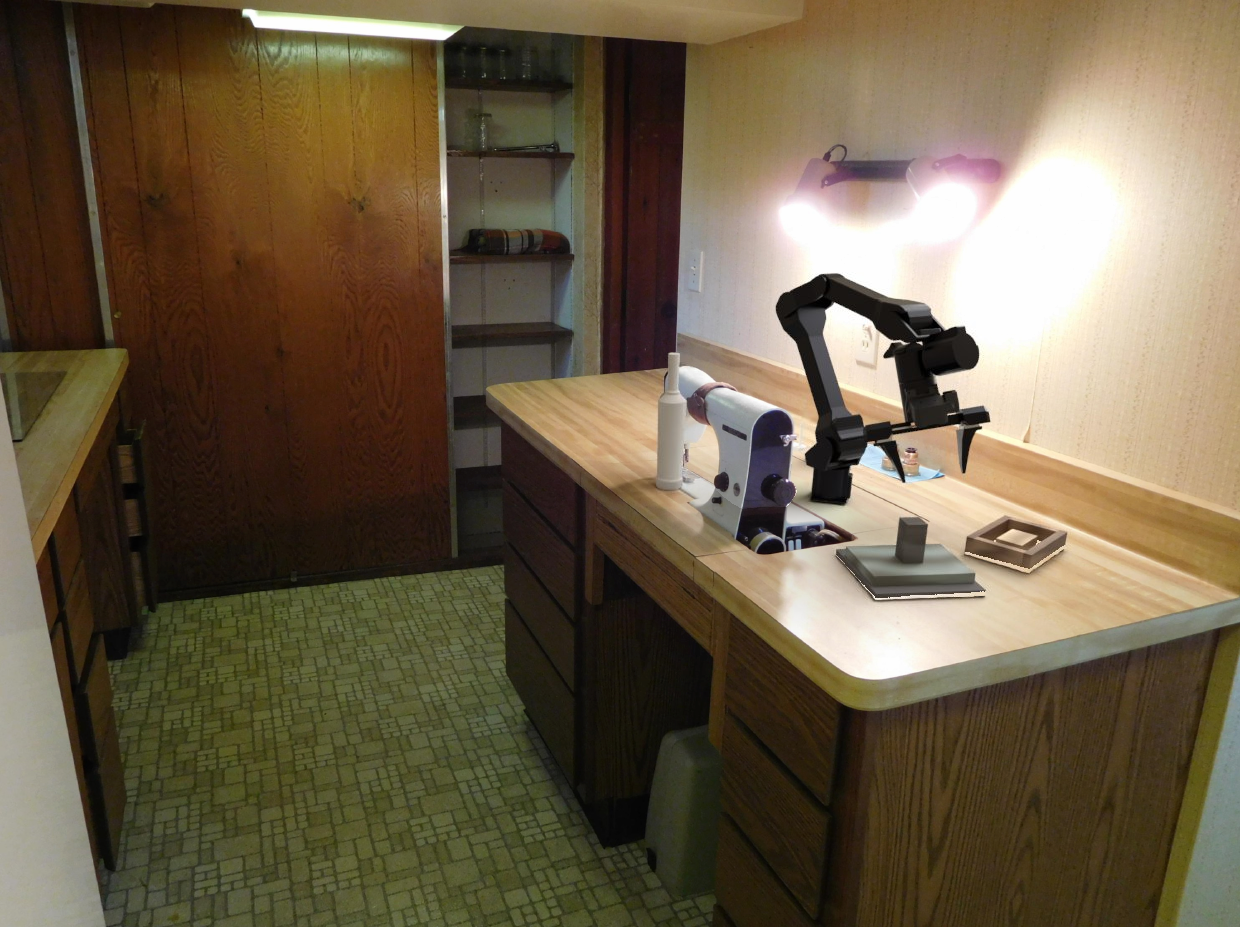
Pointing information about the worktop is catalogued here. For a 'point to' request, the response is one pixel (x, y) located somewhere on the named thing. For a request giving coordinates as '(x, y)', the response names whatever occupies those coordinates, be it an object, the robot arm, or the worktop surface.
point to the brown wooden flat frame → (1015, 541)
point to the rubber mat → (909, 589)
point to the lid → (909, 559)
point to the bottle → (671, 430)
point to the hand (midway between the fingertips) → (933, 478)
